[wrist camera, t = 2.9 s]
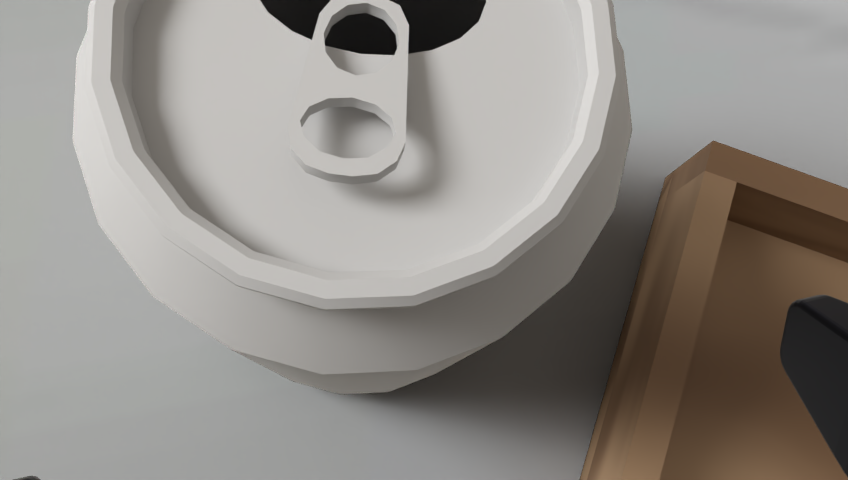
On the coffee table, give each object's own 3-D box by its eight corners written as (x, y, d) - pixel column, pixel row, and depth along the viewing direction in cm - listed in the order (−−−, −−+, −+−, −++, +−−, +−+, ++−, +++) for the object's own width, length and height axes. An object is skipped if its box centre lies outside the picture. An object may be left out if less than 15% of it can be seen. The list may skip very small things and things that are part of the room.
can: (511, 134, 22) (691, -196, 10) (487, 411, 20) (671, 405, 8) (238, 98, 21) (90, -290, 10) (189, 378, 20) (-61, 324, 8)
